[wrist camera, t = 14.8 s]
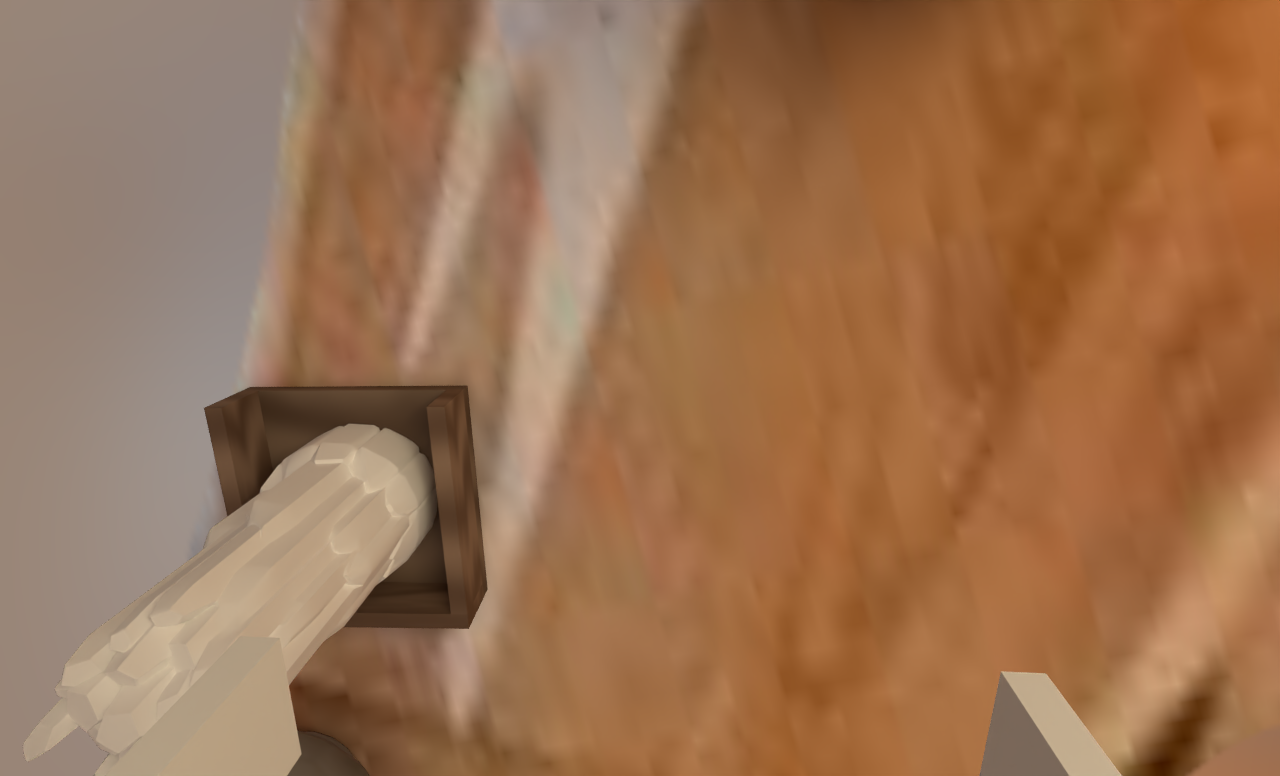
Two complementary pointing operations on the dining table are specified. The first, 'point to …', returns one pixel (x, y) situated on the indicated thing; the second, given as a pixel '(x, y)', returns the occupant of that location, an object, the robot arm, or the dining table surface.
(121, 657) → the decorative vase
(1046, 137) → the dining table surface
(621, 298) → the dining table surface
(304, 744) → the flower arrangement
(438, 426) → the brown wooden tray
